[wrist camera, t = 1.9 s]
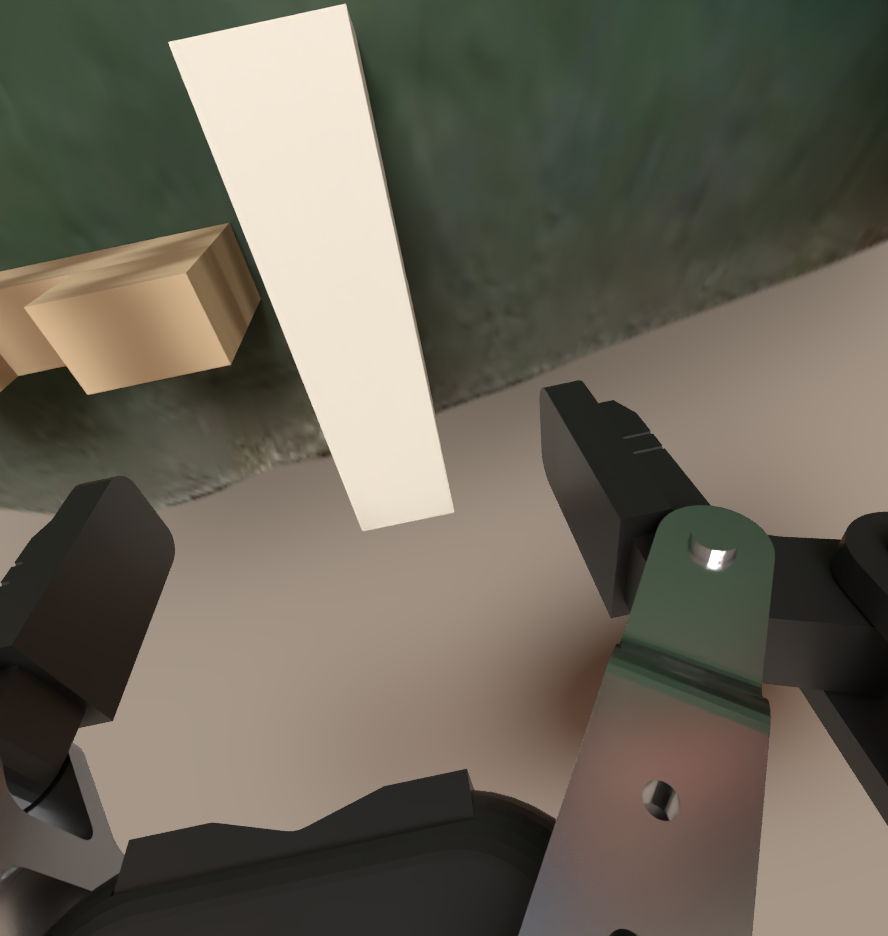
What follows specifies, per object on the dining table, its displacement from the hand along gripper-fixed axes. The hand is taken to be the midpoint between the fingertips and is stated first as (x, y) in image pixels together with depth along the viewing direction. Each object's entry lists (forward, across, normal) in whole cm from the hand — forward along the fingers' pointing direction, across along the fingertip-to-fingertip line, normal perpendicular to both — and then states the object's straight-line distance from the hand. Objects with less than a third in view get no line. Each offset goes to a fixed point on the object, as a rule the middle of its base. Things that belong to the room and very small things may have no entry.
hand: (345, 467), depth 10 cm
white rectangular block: (+17, 0, 0) cm, 17 cm away
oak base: (+18, +13, 0) cm, 22 cm away
